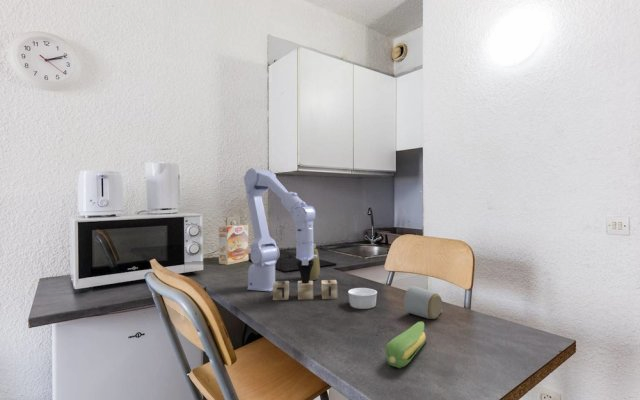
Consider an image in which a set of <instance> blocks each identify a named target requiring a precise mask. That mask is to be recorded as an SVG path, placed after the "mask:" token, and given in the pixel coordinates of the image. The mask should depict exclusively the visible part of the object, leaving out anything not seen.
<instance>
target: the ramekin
mask: <svg viewBox="0 0 640 400" xmlns="http://www.w3.org/2000/svg"><path fill="white" fill-rule="evenodd" d="M347 294H348V300H349V306H350V307H352V308H354V309H359V310H368V309H373V308H374V307H376V305H377V295H378V291H377V290H375V289H373V288H367V287H354V288H351V289H349V290H348V291H347Z"/></svg>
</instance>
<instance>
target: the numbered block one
mask: <svg viewBox="0 0 640 400" xmlns="http://www.w3.org/2000/svg"><path fill="white" fill-rule="evenodd" d="M320 283H321V299H322V300H326V299H327V300H332V299H333V300H334V299H338V281H337V279H322V280H321V282H320Z"/></svg>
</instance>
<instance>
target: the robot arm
mask: <svg viewBox="0 0 640 400" xmlns="http://www.w3.org/2000/svg"><path fill="white" fill-rule="evenodd" d="M243 181H244V185H245V191H246V194H245V195H246V200H247V205H248V210H249V215H250V221H251V225H252V231H253V236H254V240H253V242H252V243H251V244H250V245H249V247H250V254H249V255H250V260H251V262H252V263H251V264H250V266H249V267H248V271H247V288H246V289H247V290H249V291H261V292H273V283H274V281H276V264H277V261H278V260H279V258H280V249H279V247H278V246H277V242H276V240H275V239H274V238H272V237H271V235H270V232H269V227H268V222H267V216H266V211H265V205H264V202H263V197H262V196H263V194H265V193H267V191H268V190H269V189H270V190H271V191H272V192H273V193H274V194H275V195H276V196H277V197H279V198H280V200H281V201H280V203H281V204H282V206H283V207H284V209H286V210H287V211H288V212H289V214H291V219H292V221H293V222H294V228H295V240H296V243H295V245H296V250H295V251H296V255H295V259H297V260H298V261H296V265H297V268H298V270H299V273H300V281H302V283H309V279H310V272H311V269H312V266H313V264H314V261H313V260H311V259H313V258H317V255H314V250H313V244H314V222H315V221H316V219H317V211H316V209H315V207H314V206H312V205H308V204H306V202H305V201H304V200H302V199H301V198H300V197H299V196H298V193H297V192H293V191H288V189H286V186H284V185H283V184H282V183H281V182H280V181H279V179H278V178H277V175H276V174H275V173H274V172H273V171H272V170H271V169H260V168H259V169H257V168H249V169H247V171H246V172H245V174H244V176H243Z"/></svg>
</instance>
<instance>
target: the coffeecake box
mask: <svg viewBox="0 0 640 400" xmlns="http://www.w3.org/2000/svg"><path fill="white" fill-rule="evenodd" d="M248 261H249V224H243V223H242V224H241V223H240V224H239V223H238V224H230V225H227V224H226V225H218V264H219V265H220V264H221V265H225V266H228V265H233V264H237V263H243V262H248Z"/></svg>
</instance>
